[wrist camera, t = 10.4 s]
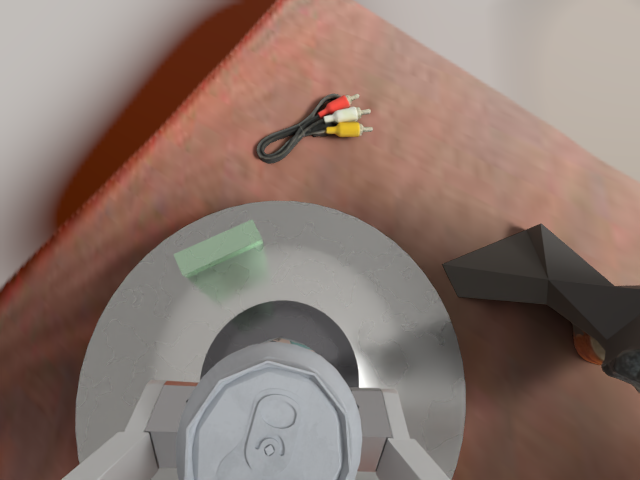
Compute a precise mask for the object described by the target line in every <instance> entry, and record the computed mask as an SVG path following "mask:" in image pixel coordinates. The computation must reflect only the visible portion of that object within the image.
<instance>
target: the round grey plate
mask: <svg viewBox="0 0 640 480" xmlns="http://www.w3.org/2000/svg"><path fill="white" fill-rule="evenodd" d="M274 338H287V339H292V340H295V341H298V342H300V343H302V344H304V345H306V346H307V347H309V348H310V349H312V350H313V351H315V352H316V353H318V354H319V355H321V356H322V357H323V358H324V359H325V360H326V361H328V362H329V363H330V364H331V365H332V366H333V367H335V368H336V369H337V371H338V372H339V374H340V375H341V376H342V378H343V379H344V381H345V382H346V383H347V385H348V386H349V388H350V387H357V388H380V389H396V390H397V392H398V395H399V399H400V403H401V406H402V410H403V414H404V418H405V421H406V425H407V429H408V433H409V436H410V439H415V440H416V441H417V442H418V443H419V445H420V446H421V447H422V448H423V449H424V450H425V451H426V452H427V454H428V455H429V456H430V457H431V458H432V459H433V460H434V461H435V463H436V464H437V465H438V466H439V467H440V468H441V469H442V471H443V472H444V473H445V474H446V475H447V476H448V477H449V478H450V480H452V477H453V474H454V472H455V469H456V466H457V462H458V457H459V453H460V449H461V445H462V440H463V432H464V424H465V415H466V386H465V378H464V369H463V361H462V357H461V353H460V349H459V345H458V340H457V337H456V334H455V331H454V328H453V326H452V323H451V320H450V317H449V315H448V313H447V311H446V309H445V307H444V305H443V303H442V301H441V299H440V297H439V295H438V293H437V291H436V290H435V288H434V287H433V285H432V284H431V282H430V281H429V279H428V278H427V276H426V275H425V273H424V272H423V271H422V270H421V269H420V268H419V266H418V265H417V264H416V263H415V262H414V261H413V259H412V258H411V257H410V256H409V255H408V254H407V253H406V252H405V251H404V250H402V249H401V248H400V247H399V246H398V245H397V244H396V243H395V242H394V241H393V240H391V239H390V238H388V237H387V236H386V235H384V234H383V233H381V232H380V231H379V230H377V229H376V228H374V227H372V226H371V225H369V224H367V223H365V222H363V221H361V220H360V219H358V218H356V217H353V216H351V215H348V214H346V213H343V212H341V211H338V210H336V209H332V208H328V207H324V206H321V205H317V204H311V203H304V202H297V201H265V202H256V203H248V204H244V205H239V206H235V207H231V208H227V209H224V210H221V211H218V212H216V213H213V214H210V215H207V216H205V217H203V218H201V219H199V220H197V221H195V222H193V223H191V224H189V225H187V226H185V227H183V228H182V229H180V230H179V231H177V232H176V233H174V234H173V235H171V236H170V237H168V238H167V239H165V240H164V241H163V242H162V243H160V244H159V245H158V246H157V247H156V248H154V249H153V250H152V251H151V252H150V253H148V254H147V255H146V256H145V257H144V258H143V259H142V260H141V261H140V262H139V263H138V265H137V266H136V267H135V268H134V269H133V270H132V271H131V272H130V273H129V274H128V275H127V277H126V278H125V279H124V281H123V282H122V283H121V285H120V286H119V287H118V289H117V290H116V292H115V293H114V294H113V296H112V297H111V299H110V301H109V303H108V304H107V306H106V308H105V310H104V311H103V313H102V315H101V317H100V318H99V320H98V323H97V325H96V328H95V330H94V332H93V335H92V337H91V339H90V342H89V344H88V347H87V351H86V354H85V358H84V361H83V365H82V369H81V372H80V378H79V385H78V391H77V398H76V424H75V431H76V441H77V450H78V459H79V463H82V462H83V461H84V460H85V459H86V458H88V457H89V456H90V455H91V454H92V453H94V452H95V451H96V450H97V449H98V448H100V447H101V446H102V445H103V444H104V443H106V442H107V441H108V440H109V439H110V438H111V437H113V436H114V435H115V434H116V433H117V432H124V430H125V428H126V426H127V424H128V422H129V419H130V417H131V415H132V413H133V411H134V409H135V407H136V405H137V403H138V400H139V398H140V396H141V394H142V392H143V390H144V388H145V386H146V384H147V383H148V382H149V381H150V380H167V381H183V382H200V380H201V379H202V377H203V376H204V375H205V374H206V373H207V372H208V371H209V370H210V369H211V368H212V367H214V366H215V365H216V364H217V363H218V362H219V361H221V360H222V359H223V358H225V357H226V356H228V355H230V354H232V353H234V352H236V351H238V350H241V349H243V348H245V347H247V346H250V345H255V344H260V343H262V342H265V341H267V340H269V339H274ZM151 480H179V479H178V474H177V468H160V469H158V471H157V473H156V474H155V475H154V476H153V477H152V478H151ZM355 480H379V478H378V477H377V475H376V472H360V471H357V474H356V477H355Z"/></svg>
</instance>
